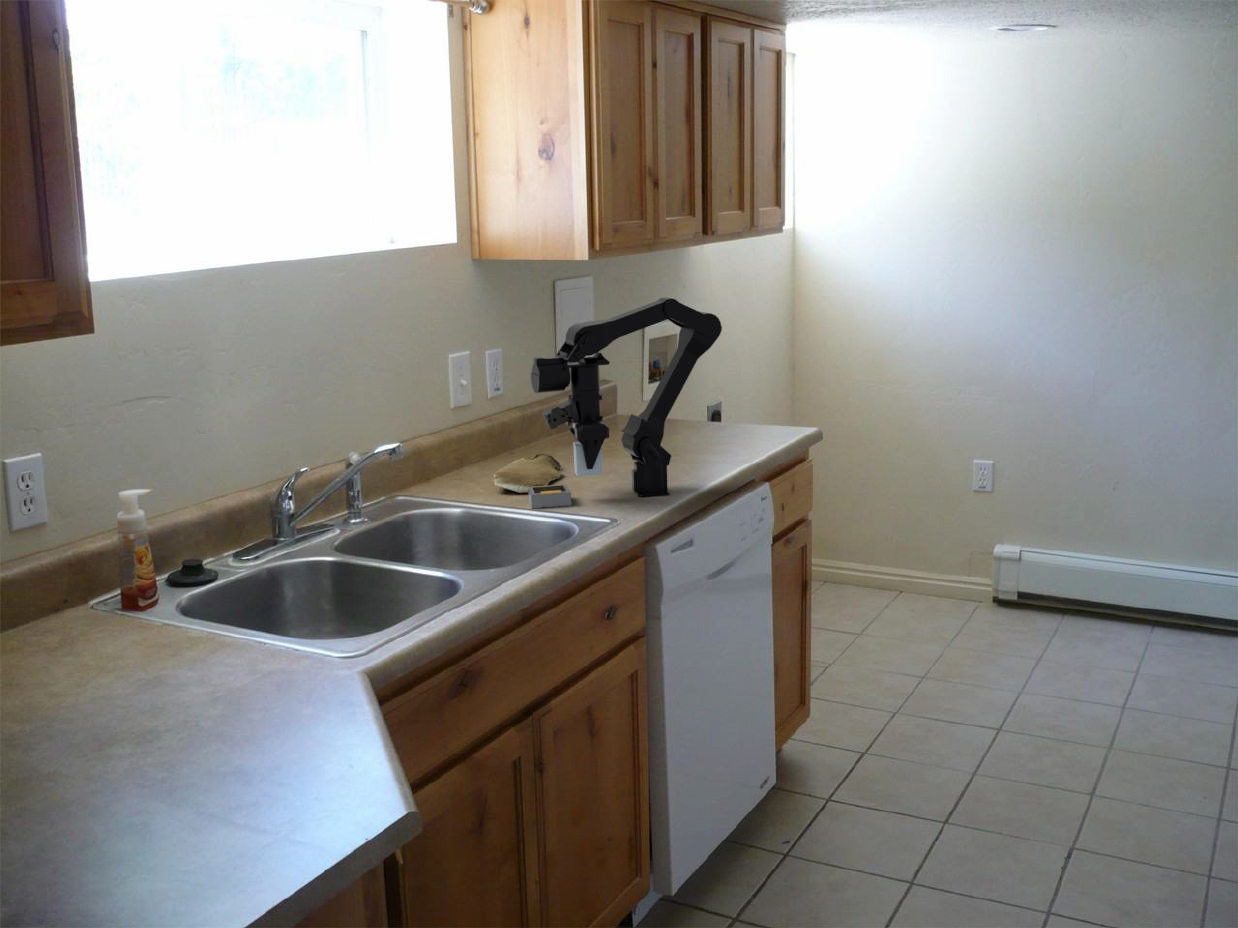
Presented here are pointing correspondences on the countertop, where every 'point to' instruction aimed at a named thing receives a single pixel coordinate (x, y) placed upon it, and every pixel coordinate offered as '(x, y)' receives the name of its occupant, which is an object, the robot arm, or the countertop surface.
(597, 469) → the pale blue upright block
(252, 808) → the countertop surface
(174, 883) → the countertop surface
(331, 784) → the countertop surface
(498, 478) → the stone tool
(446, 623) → the countertop surface
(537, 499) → the rack
